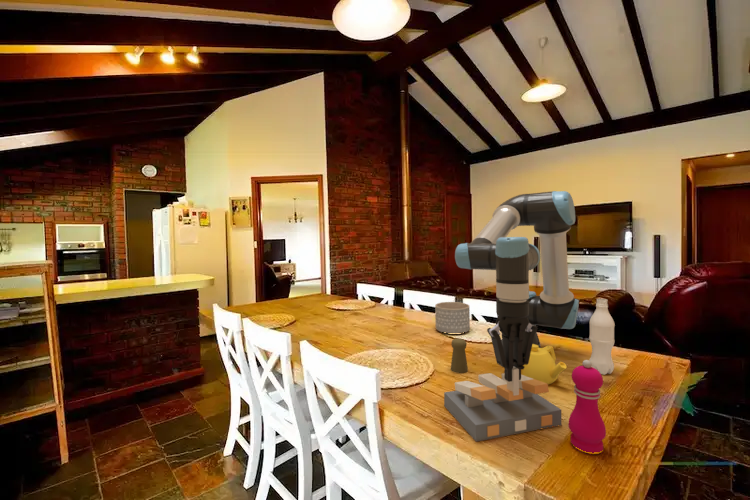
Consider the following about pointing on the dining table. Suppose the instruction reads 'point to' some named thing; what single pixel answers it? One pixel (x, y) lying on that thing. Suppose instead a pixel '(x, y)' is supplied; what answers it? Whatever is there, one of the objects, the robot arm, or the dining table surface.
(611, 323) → the water bottle
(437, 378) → the dining table surface
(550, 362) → the teapot
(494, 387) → the rocker
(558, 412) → the switch box
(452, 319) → the planter
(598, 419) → the pepper mill
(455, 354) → the olive brown shaker
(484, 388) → the rocker
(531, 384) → the rocker
